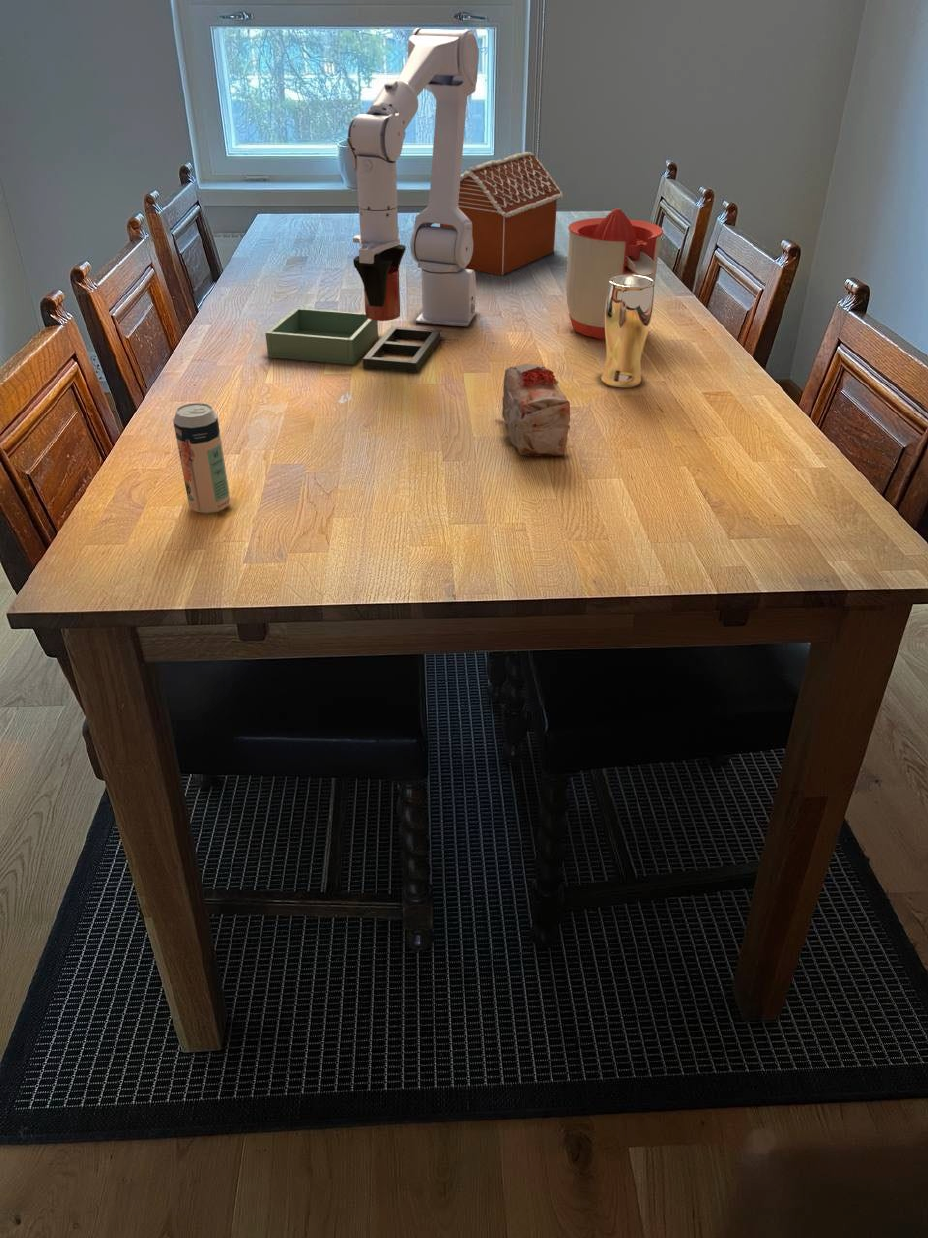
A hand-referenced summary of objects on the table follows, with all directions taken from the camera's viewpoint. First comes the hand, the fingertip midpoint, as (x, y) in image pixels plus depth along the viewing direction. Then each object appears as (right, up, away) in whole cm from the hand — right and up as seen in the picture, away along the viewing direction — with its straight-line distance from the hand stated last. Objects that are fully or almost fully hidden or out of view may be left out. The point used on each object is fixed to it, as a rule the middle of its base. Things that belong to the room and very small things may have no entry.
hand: (382, 299), depth 143 cm
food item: (+22, -26, -20) cm, 39 cm away
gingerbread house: (+20, +29, +57) cm, 67 cm away
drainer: (+3, -6, +8) cm, 10 cm away
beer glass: (+37, -13, -2) cm, 39 cm away
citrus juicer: (+38, 0, +17) cm, 42 cm away
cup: (0, -2, +1) cm, 2 cm away
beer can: (-17, -37, -35) cm, 54 cm away
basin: (-10, -5, +9) cm, 15 cm away
